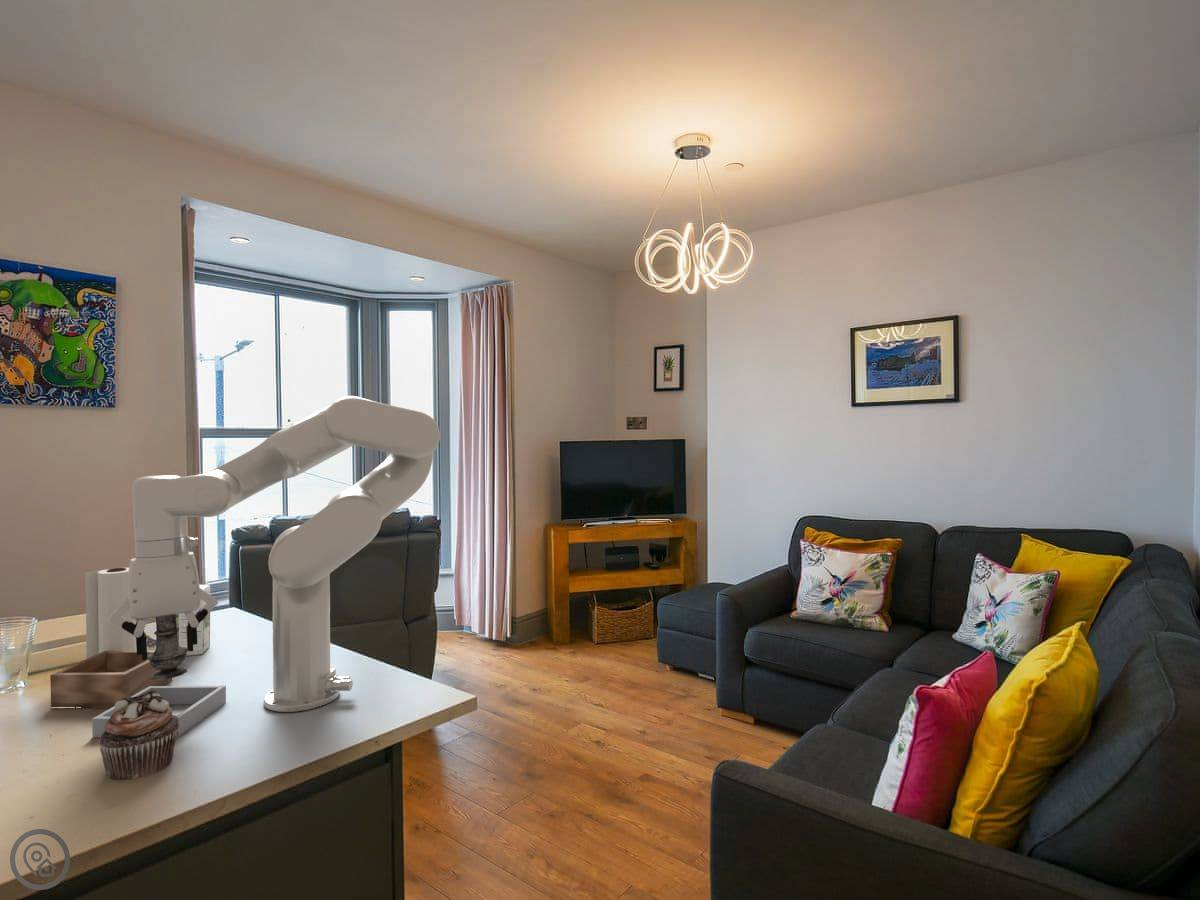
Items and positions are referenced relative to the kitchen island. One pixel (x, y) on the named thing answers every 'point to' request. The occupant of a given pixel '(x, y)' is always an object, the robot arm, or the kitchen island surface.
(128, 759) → the cupcake
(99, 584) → the paper towel roll
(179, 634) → the syrup box
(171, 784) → the kitchen island surface
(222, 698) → the grey frame
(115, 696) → the walnut bin
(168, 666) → the grey chess piece
